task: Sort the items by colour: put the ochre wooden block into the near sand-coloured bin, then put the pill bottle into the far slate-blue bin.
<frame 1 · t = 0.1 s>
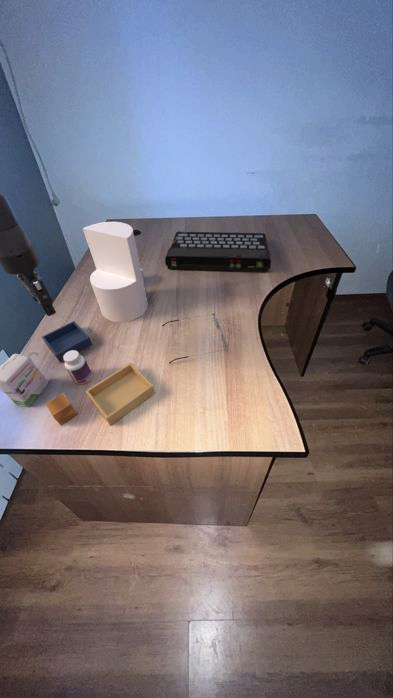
hand: (45, 306, 69), 20 cm above the table, tool pointing down, fingers open, 8 cm apart
pill bottle: (83, 377, 78), on the table
eyeglasses: (193, 339, 87), on the table
sand bin: (122, 395, 73), on the table
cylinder: (125, 307, 100), on the table
slate bin: (69, 344, 87), on the table
adhesive note: (135, 283, 111), on the table
ink box: (32, 393, 75), on the table
ochre block: (65, 414, 70), on the table
computer keyboard: (218, 256, 125), on the table
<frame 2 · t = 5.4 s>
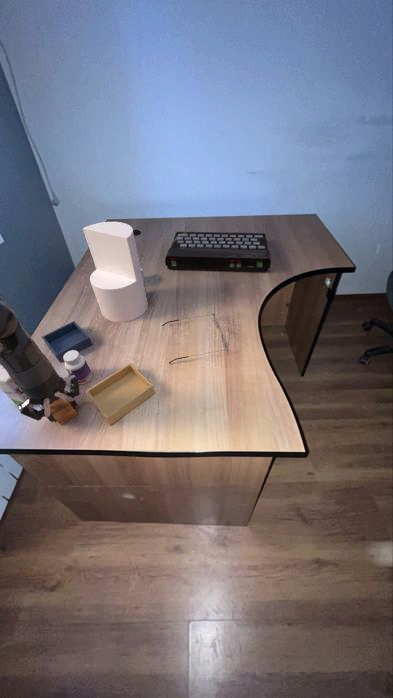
hand: (64, 413, 69), 1 cm above the table, tool pointing down, fingers closed on ochre block, 4 cm apart
ochre block: (65, 414, 70), on the table, touching gripper
everything else where it was.
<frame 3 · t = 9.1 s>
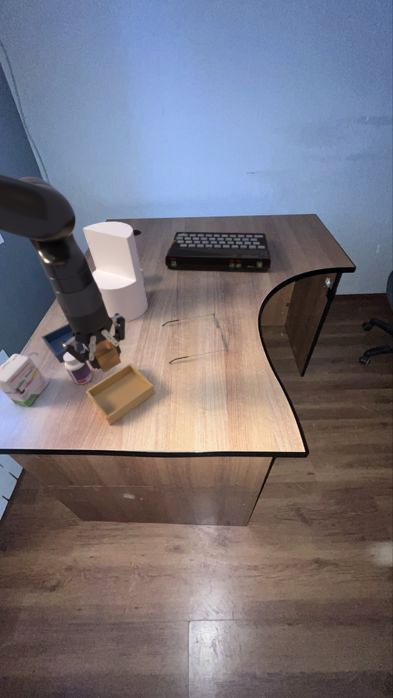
hand: (107, 360, 62), 15 cm above the table, tool pointing down, fingers closed on ochre block, 4 cm apart
ochre block: (107, 362, 63), point 14 cm above the table, touching gripper
everything else where it was.
when the fingers open (1 cm above the table, at t = 12.6 s): ochre block stays where it is, resting on sand bin.
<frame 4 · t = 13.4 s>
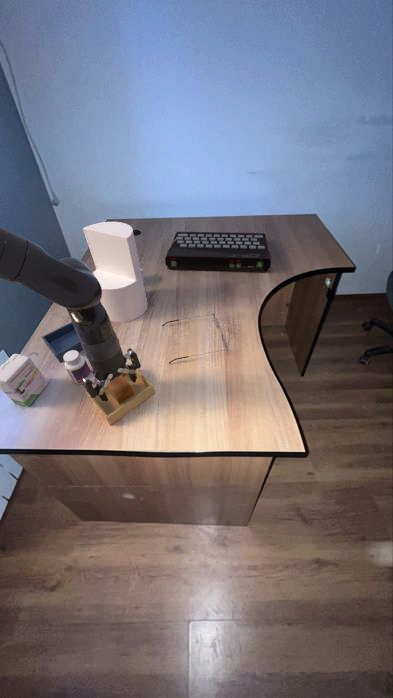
hand: (119, 389, 71), 3 cm above the table, tool pointing down, fingers open, 8 cm apart
ochre block: (122, 394, 73), resting on sand bin
everything else where it was.
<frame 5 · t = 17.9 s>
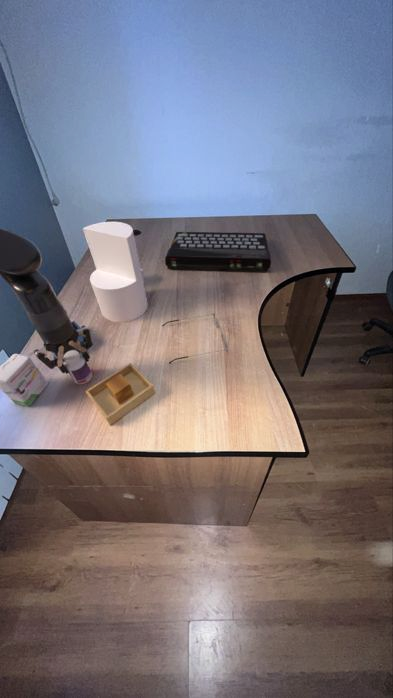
hand: (76, 365, 74), 5 cm above the table, tool pointing down, fingers closed on pill bottle, 5 cm apart
pill bottle: (83, 377, 78), on the table, touching gripper
everything else where it was.
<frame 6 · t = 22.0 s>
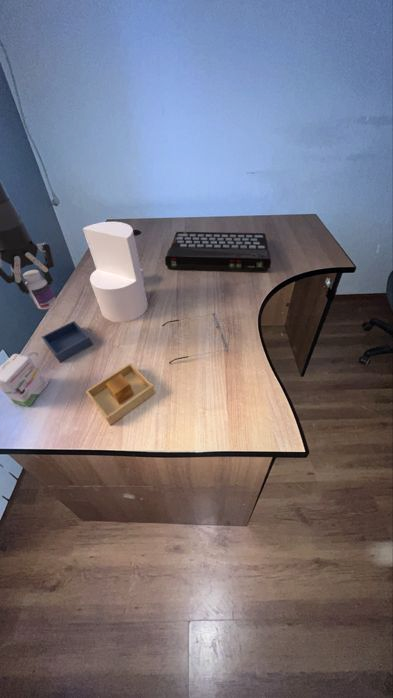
hand: (38, 287, 71), 22 cm above the table, tool pointing down, fingers closed on pill bottle, 5 cm apart
pill bottle: (47, 304, 75), point 16 cm above the table, touching gripper
everything else where it was.
when the fingers open (6 cm above the table, at t = 26.0 s): pill bottle stays where it is, resting on slate bin.
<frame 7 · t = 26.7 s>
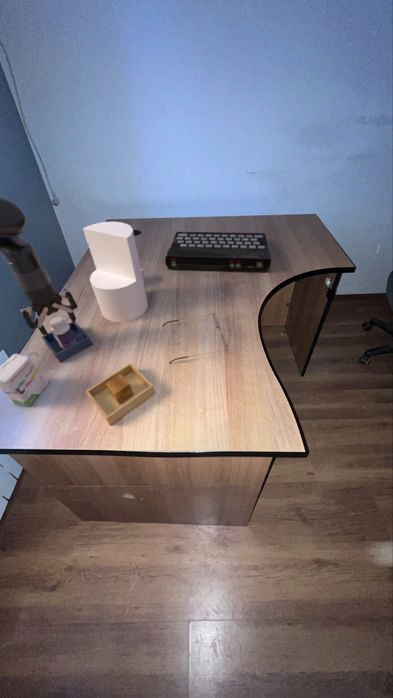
hand: (60, 327, 82), 8 cm above the table, tool pointing down, fingers open, 8 cm apart
pill bottle: (69, 344, 87), resting on slate bin
everything else where it was.
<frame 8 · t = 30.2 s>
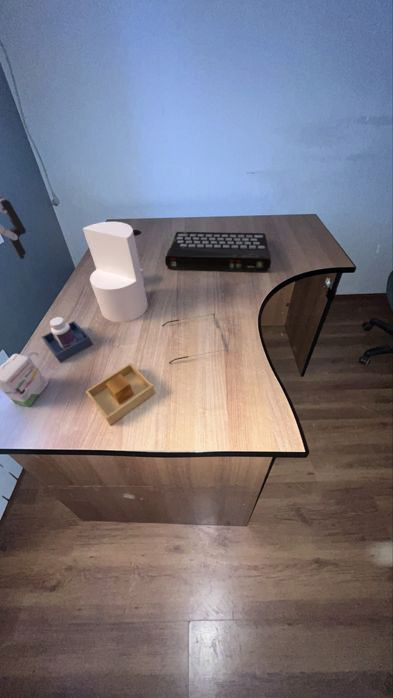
nothing on the table moved.
at the end: ochre block inside the target area in the sand bin (0.1 cm from its centre), point 0.5 cm above the sand bin's base; pill bottle inside the target area in the slate bin (0.1 cm from its centre), point 0.3 cm above the slate bin's base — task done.
